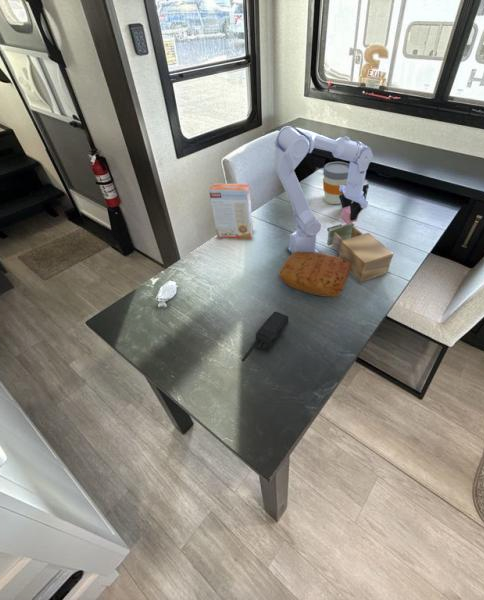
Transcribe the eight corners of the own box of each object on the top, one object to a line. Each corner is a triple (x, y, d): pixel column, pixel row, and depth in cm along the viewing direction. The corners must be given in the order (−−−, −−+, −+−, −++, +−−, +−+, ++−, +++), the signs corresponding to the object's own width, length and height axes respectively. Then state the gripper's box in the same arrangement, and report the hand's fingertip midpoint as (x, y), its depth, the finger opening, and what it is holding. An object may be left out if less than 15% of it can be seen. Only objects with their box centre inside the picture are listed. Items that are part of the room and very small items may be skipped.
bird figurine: (175, 309, 102) (180, 283, 107) (164, 299, 96) (170, 272, 101) (161, 310, 103) (167, 285, 108) (150, 300, 97) (157, 274, 102)
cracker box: (253, 231, 130) (249, 182, 115) (251, 239, 126) (247, 190, 111) (220, 230, 131) (212, 182, 116) (217, 238, 127) (208, 189, 112)
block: (347, 224, 116) (348, 213, 113) (340, 218, 119) (342, 207, 115) (357, 221, 117) (359, 210, 114) (350, 215, 120) (352, 205, 117)
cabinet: (338, 260, 116) (341, 240, 109) (364, 251, 119) (368, 232, 112) (359, 282, 107) (364, 263, 101) (387, 272, 110) (393, 253, 104)
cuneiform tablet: (352, 276, 109) (356, 258, 103) (336, 309, 99) (339, 291, 93) (294, 259, 116) (295, 242, 110) (273, 288, 106) (273, 270, 100)
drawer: (321, 238, 124) (322, 223, 119) (343, 231, 126) (346, 217, 121) (344, 262, 113) (347, 247, 108) (368, 254, 116) (372, 239, 111)
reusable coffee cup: (316, 195, 150) (319, 163, 139) (340, 190, 152) (344, 159, 141) (327, 208, 141) (331, 175, 131) (352, 203, 144) (358, 170, 133)
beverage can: (360, 212, 138) (365, 186, 129) (346, 208, 141) (350, 182, 132) (366, 206, 141) (372, 180, 133) (353, 202, 144) (358, 177, 136)
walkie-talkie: (294, 321, 93) (261, 370, 79) (281, 326, 97) (247, 373, 84) (282, 305, 91) (246, 352, 78) (269, 311, 96) (232, 357, 82)
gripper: (378, 187, 103) (370, 223, 113) (352, 170, 113) (347, 205, 122) (360, 192, 102) (353, 228, 111) (336, 174, 111) (331, 209, 121)
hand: (349, 216), depth 117 cm, fingers closed on block, 4 cm apart
